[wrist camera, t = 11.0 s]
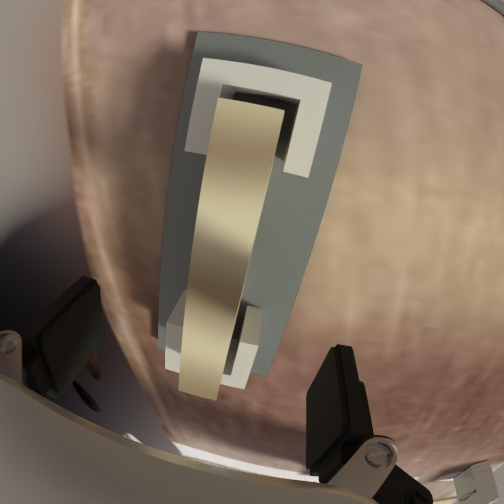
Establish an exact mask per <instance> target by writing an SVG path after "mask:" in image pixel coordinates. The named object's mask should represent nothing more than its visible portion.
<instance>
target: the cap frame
mask: <svg viewBox="0 0 504 504" xmlns="http://www.w3.org/2000/svg"><path fill="white" fill-rule="evenodd" d="M361 69H362V64H359V63H356V62H353V61H350V60H347V59H343V58H340V57H337V56H334V55H330V54H327V53H323V52H319V51H316V50H312V49H308V48H304V47H299V46H295V45H290V44H286V43H281V42H276V41H270V40H265V39H259V38H253V37H246V36H238V35H230V34H221V33H209V32H198V34H197V37H196V41H195V45H194V49H193V53H192V57H191V62H190V66H189V70H188V75H187V79H186V84H185V89H184V94H183V99H182V104H181V109H180V114H179V120H178V125H177V131H176V137H175V143H174V150H173V156H172V163H171V170H170V177H169V185H168V193H167V202H166V211H165V220H164V231H163V242H162V255H161V269H160V287H159V312H158V349H162V350H165V369H168V370H171V371H175V372H178V373H180V360H181V347H182V335H183V324H184V314H185V304H186V295H187V286H188V277H189V269H190V261H191V253H192V246H193V238H194V231H195V224H196V217H197V211H198V204H199V198H200V192H201V186H202V180H203V174H204V168H205V162H206V157H207V151H208V146H209V141H210V136H211V130H212V125H213V120H214V115H215V111H216V106H217V101H218V98H224V99H230V100H236V101H242V102H247V103H252V104H257V105H262V106H267V107H272V108H276V109H281V110H284V119H283V124H282V128H281V132H280V136H279V141H278V145H277V149H276V153H275V157H274V162H273V166H272V170H271V174H270V178H269V183H268V187H267V191H266V195H265V200H264V204H263V208H262V212H261V216H260V221H259V225H258V229H257V233H256V238H255V242H254V246H253V250H252V254H251V259H250V263H249V267H248V271H247V275H246V280H245V284H244V288H243V292H242V297H241V301H240V305H239V309H238V313H237V318H236V322H235V326H234V330H233V334H232V338H231V342H230V347H229V351H228V355H227V359H226V363H225V367H224V371H223V375H222V379H221V383H220V384H223V385H227V386H232V387H236V388H241V389H245V386H246V383H247V380H248V377H249V374H250V373H254V374H259V375H264V376H267V374H268V371H269V369H270V366H271V364H272V361H273V358H274V356H275V353H276V351H277V348H278V345H279V343H280V340H281V337H282V335H283V332H284V329H285V327H286V324H287V321H288V318H289V316H290V313H291V310H292V307H293V304H294V302H295V299H296V296H297V293H298V290H299V287H300V284H301V281H302V279H303V276H304V273H305V270H306V267H307V264H308V261H309V258H310V255H311V252H312V248H313V245H314V242H315V239H316V236H317V233H318V230H319V226H320V223H321V220H322V217H323V213H324V210H325V207H326V204H327V200H328V197H329V193H330V190H331V187H332V183H333V180H334V176H335V173H336V169H337V165H338V162H339V158H340V154H341V151H342V147H343V143H344V140H345V136H346V132H347V128H348V124H349V120H350V116H351V112H352V108H353V104H354V100H355V95H356V91H357V87H358V83H359V78H360V74H361Z"/></svg>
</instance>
